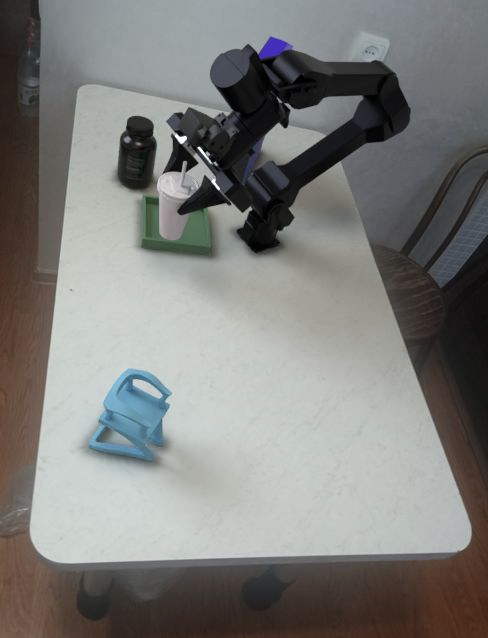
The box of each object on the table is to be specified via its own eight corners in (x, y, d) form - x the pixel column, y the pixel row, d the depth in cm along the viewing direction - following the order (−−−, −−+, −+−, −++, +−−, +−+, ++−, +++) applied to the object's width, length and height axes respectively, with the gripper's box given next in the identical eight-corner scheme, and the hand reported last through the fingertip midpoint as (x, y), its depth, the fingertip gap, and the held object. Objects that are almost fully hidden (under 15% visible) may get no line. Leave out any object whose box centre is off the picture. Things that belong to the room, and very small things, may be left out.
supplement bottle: (159, 181, 107) (167, 126, 98) (136, 194, 103) (143, 138, 94) (132, 163, 108) (138, 107, 99) (109, 176, 104) (113, 119, 95)
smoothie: (163, 250, 86) (176, 177, 75) (143, 224, 88) (152, 150, 78) (197, 240, 89) (213, 169, 79) (176, 215, 92) (189, 143, 81)
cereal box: (240, 144, 122) (270, 35, 104) (259, 152, 123) (293, 44, 104) (217, 184, 111) (247, 69, 93) (238, 193, 111) (272, 80, 93)
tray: (204, 211, 105) (206, 203, 103) (209, 255, 98) (211, 247, 96) (141, 202, 102) (142, 194, 100) (141, 247, 95) (142, 238, 93)
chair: (143, 476, 70) (155, 432, 61) (87, 446, 70) (90, 398, 61) (171, 430, 75) (185, 383, 66) (118, 403, 75) (125, 352, 66)
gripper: (186, 57, 76) (110, 135, 79) (256, 134, 69) (168, 217, 72) (222, 104, 86) (152, 172, 89) (286, 176, 79) (207, 248, 82)
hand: (168, 199), depth 83 cm, fingers closed on smoothie, 6 cm apart
